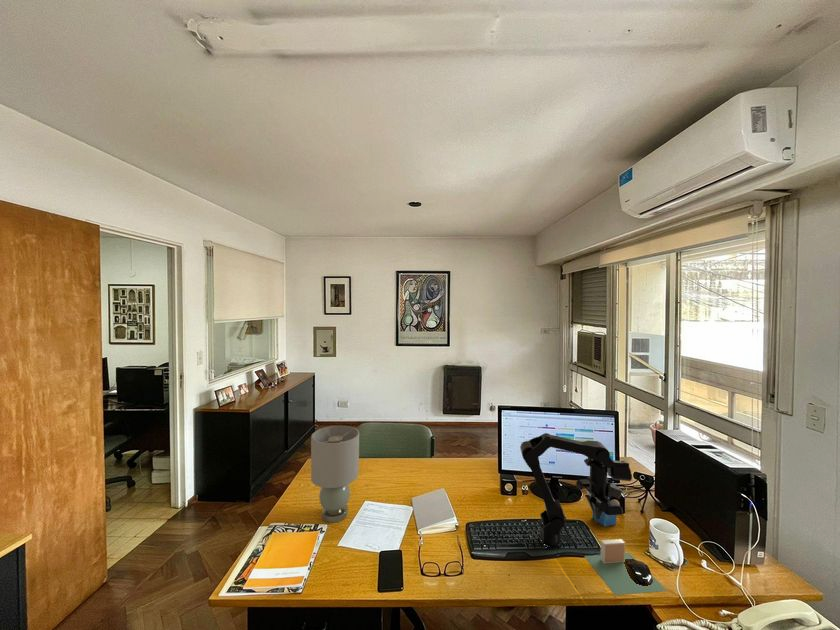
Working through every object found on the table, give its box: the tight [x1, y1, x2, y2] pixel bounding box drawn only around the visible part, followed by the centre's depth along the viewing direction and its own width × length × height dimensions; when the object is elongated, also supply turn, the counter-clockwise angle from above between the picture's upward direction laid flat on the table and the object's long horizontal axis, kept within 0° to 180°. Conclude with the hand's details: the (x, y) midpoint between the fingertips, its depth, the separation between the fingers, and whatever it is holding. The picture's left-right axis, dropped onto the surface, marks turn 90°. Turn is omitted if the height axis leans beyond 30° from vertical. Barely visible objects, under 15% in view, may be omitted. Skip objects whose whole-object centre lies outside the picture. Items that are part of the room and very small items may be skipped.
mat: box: [583, 552, 668, 596], centre depth 110 cm, size 18×16×1 cm
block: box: [599, 538, 626, 563], centre depth 115 cm, size 8×2×7 cm, turn 96°
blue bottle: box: [592, 497, 617, 528], centre depth 137 cm, size 6×6×12 cm
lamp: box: [310, 425, 360, 524], centre depth 138 cm, size 20×20×35 cm
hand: (597, 518), depth 120 cm, fingers closed
